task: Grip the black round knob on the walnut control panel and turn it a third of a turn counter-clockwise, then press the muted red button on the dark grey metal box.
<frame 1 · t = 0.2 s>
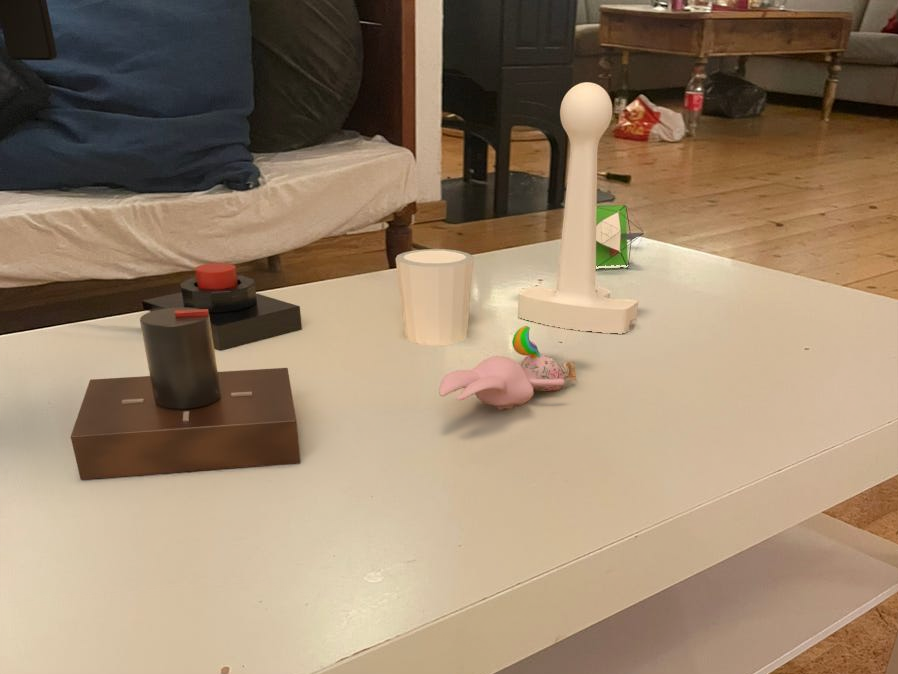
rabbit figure: (508, 408, 75), on the table
dial: (181, 355, 66), point 6 cm above the table, hinge at 0.0°
button box: (223, 327, 92), on the table
button: (216, 277, 90), point 4 cm above the table, slide at 0.1 cm
shot glass: (436, 338, 90), on the table
panel: (194, 440, 69), on the table
geometric puzzle: (607, 268, 113), on the table
joystick: (580, 320, 95), on the table
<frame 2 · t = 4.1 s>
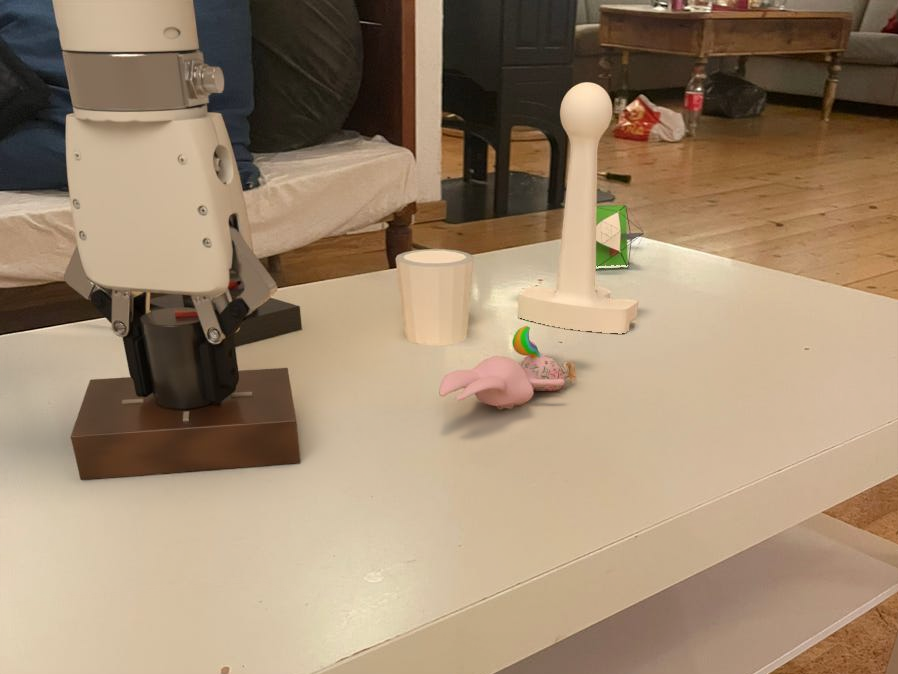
hand: (186, 390, 67), 4 cm above the table, tool pointing down, fingers closed on dial, 4 cm apart
dial: (181, 355, 66), point 6 cm above the table, hinge at 0.1°, touching gripper
everything else where it was.
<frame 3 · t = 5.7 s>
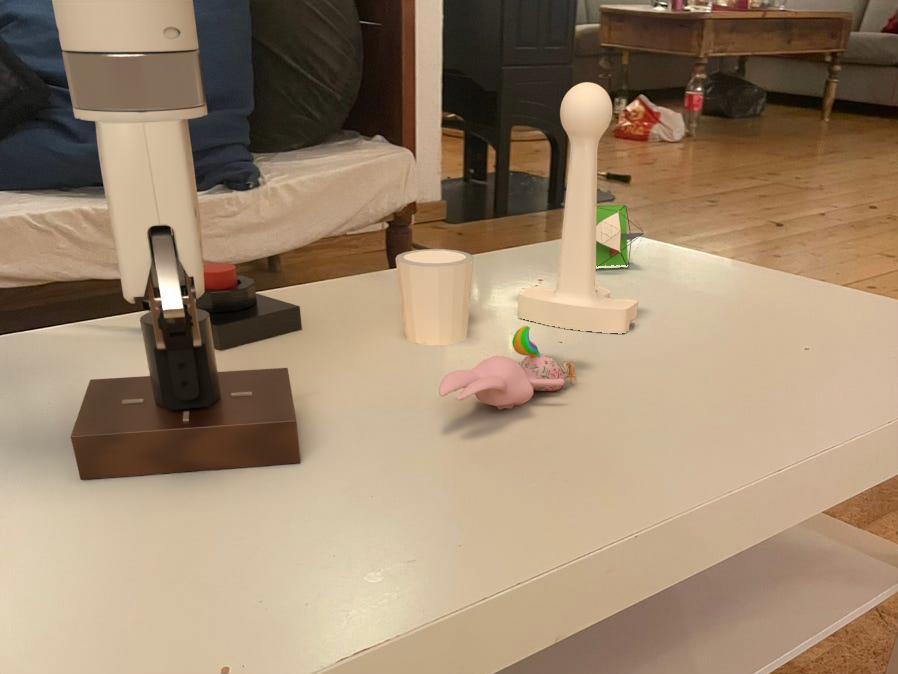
hand: (186, 391, 67), 4 cm above the table, tool pointing down, fingers closed on dial, 4 cm apart
dial: (181, 355, 66), point 6 cm above the table, hinge at 119.9°, touching gripper
everything else where it was.
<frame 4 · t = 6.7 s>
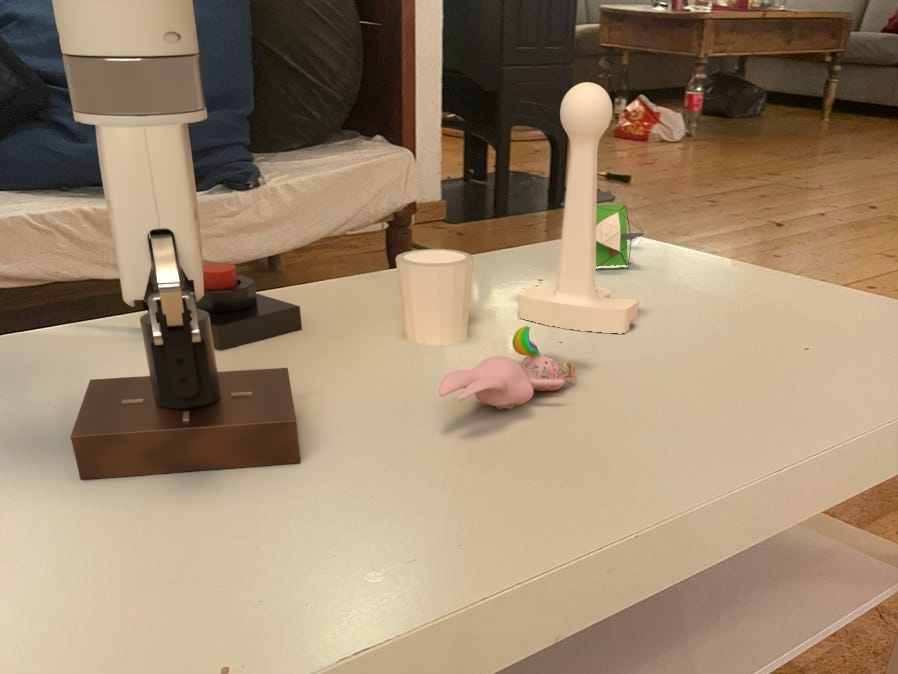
hand: (183, 379, 67), 4 cm above the table, tool pointing down, fingers open, 9 cm apart
dial: (181, 355, 66), point 6 cm above the table, hinge at 117.7°
everything else where it was.
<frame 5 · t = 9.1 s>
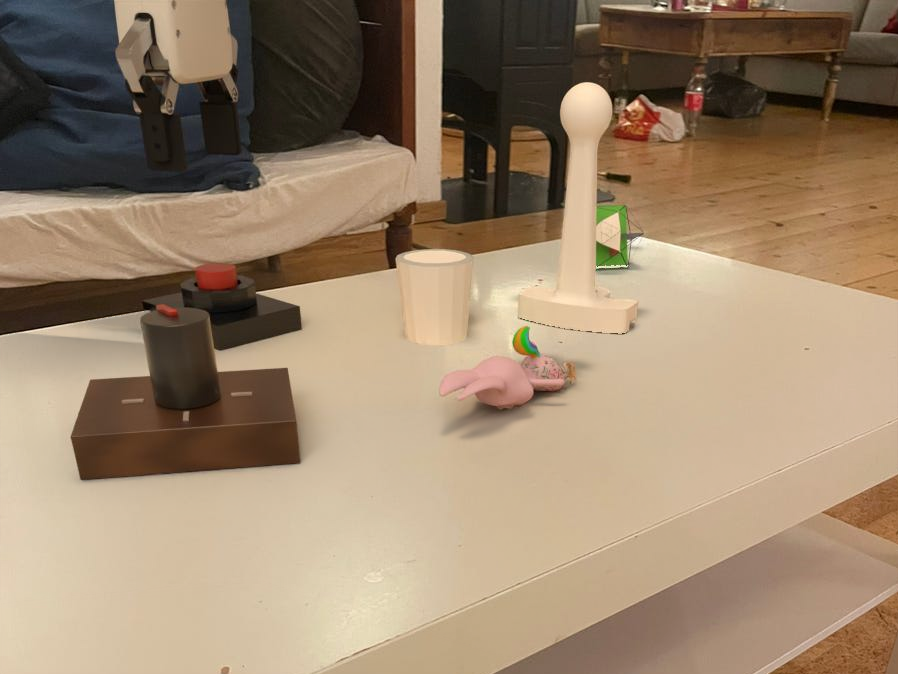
hand: (197, 162, 82), 14 cm above the table, tool pointing down, fingers open, 9 cm apart
nothing on the table moved.
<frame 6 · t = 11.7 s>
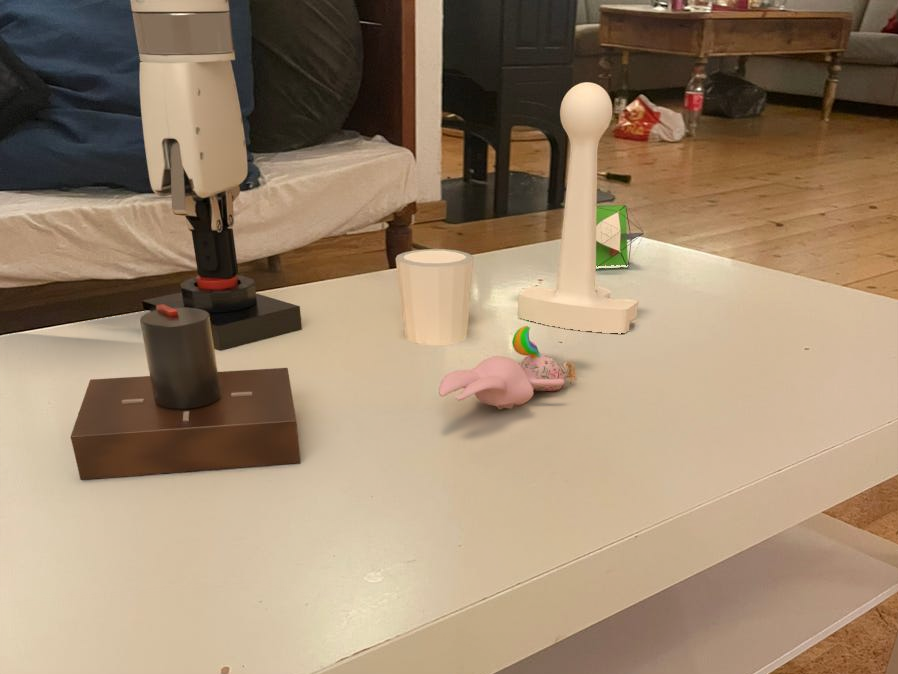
hand: (218, 275, 89), 5 cm above the table, tool pointing down, fingers closed
button: (217, 286, 90), point 4 cm above the table, slide at -0.6 cm, touching gripper
everything else where it was.
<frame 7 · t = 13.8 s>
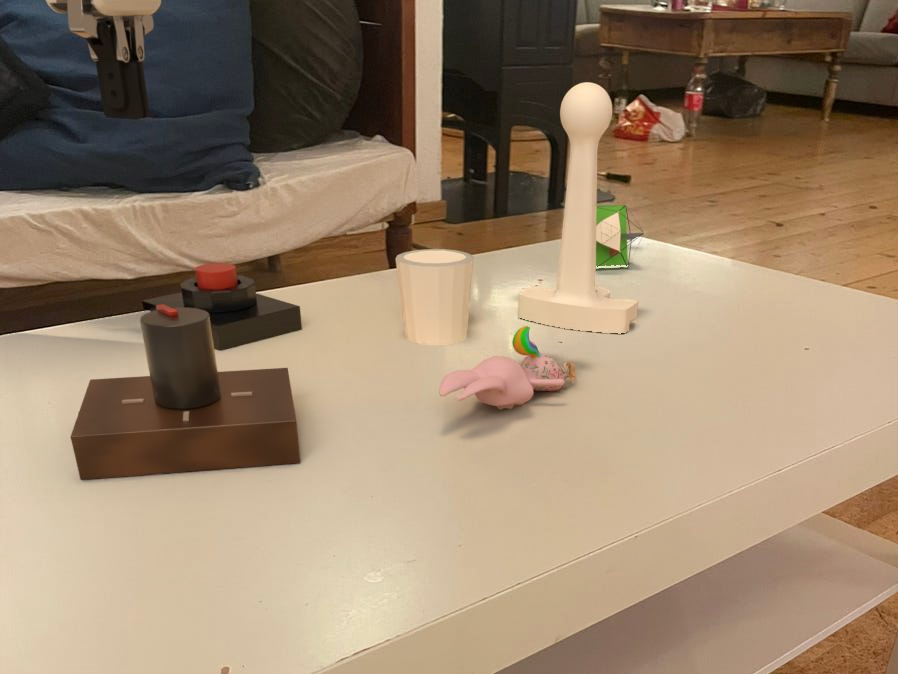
hand: (127, 117, 81), 18 cm above the table, tool pointing down, fingers closed
button: (216, 277, 90), point 4 cm above the table, slide at 0.1 cm
everything else where it was.
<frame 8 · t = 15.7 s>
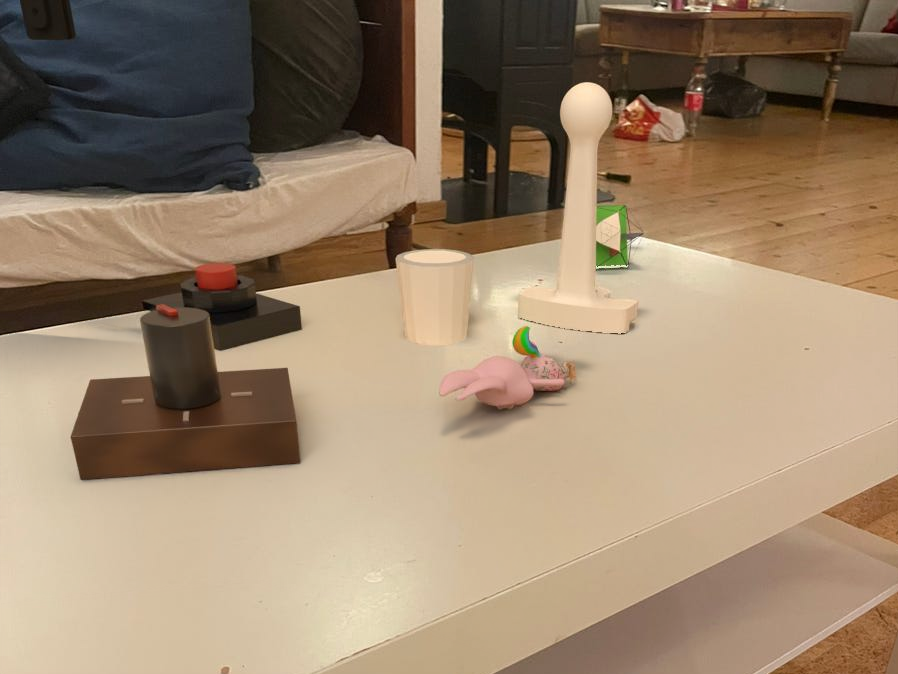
hand: (52, 38, 76), 23 cm above the table, tool pointing down, fingers closed
nothing on the table moved.
at the end: dial at +118° (first picture: +0°); button pushed in 1.1 cm at the most during the clip, back to where it started at the end; button slide at 0.1 cm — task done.
